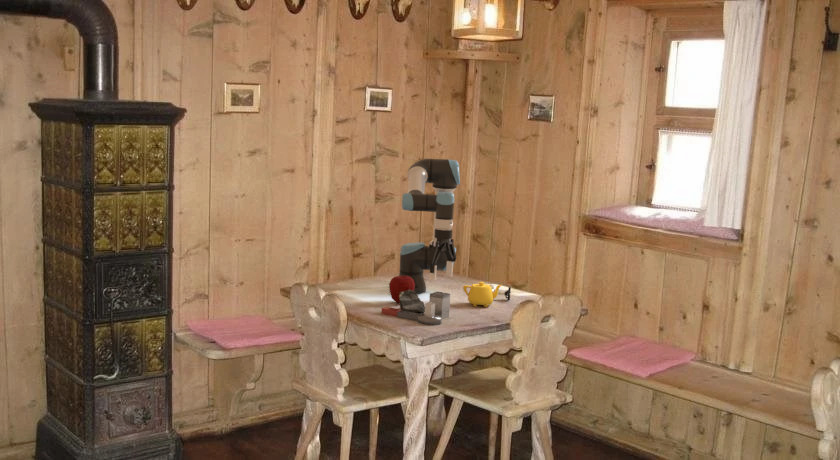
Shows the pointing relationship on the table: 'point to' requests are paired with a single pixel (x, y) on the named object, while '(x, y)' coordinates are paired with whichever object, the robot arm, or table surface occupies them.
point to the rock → (411, 302)
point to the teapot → (481, 294)
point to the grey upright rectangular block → (441, 303)
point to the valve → (503, 292)
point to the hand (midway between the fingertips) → (440, 278)
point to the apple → (400, 286)
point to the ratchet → (416, 314)
